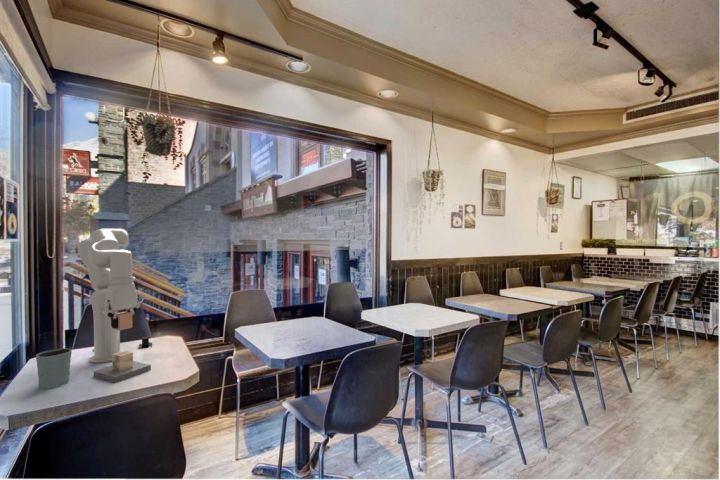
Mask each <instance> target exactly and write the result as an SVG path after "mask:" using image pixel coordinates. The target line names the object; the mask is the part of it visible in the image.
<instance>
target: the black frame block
mask: <svg viewBox="0 0 720 480" xmlns="http://www.w3.org/2000/svg"><path fill="white" fill-rule="evenodd" d="M152 347H153V342H150V338H149V336H143V337H141V343H139V344H138V349H139V350H141V349H142V350H143V349H150V348H151V349H152Z"/></svg>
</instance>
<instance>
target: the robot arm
mask: <svg viewBox="0 0 720 480" xmlns="http://www.w3.org/2000/svg"><path fill="white" fill-rule="evenodd" d="M129 237H130V236H129V233H128V232H127V231H126V230H125V229H123V228H99V229H95V230H94V231H92V232H91V234H90V238H87V239H83V240H81V241H80V242H79V243H78V254H79V258H80V260H81V262H82V264H83V265H84V266H85V268H86V269H87V271H88V276H89V280H90V284H91V288H92V289H93V290H94V292H93V293H92V294H91V296H90V303H91V307H92V314H93V346H94V348H93V349H92V350H91V351H92V353H93V355H92V356H91V357H90V358H89V362H90V363H95V364H100V363H103V364H104V363H107V362H112V354H116V353H119V352H122V350H121V330H114V329H112V328H118V318H117V314H118V313H119V311H124V310H125V312H131V313H132V321H133V322H134V315H135V313H136V312H137V310H138V309H139V308H140V307H141V305H142V304H141V303H140V302H139V301H138V298H139V297H138V292H137V289H136V286H135V283H134V281H136V277H135V276H133V252H131V251H130V250H127V249H126V248H127V246H128V244H129V240H130V238H129Z"/></svg>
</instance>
